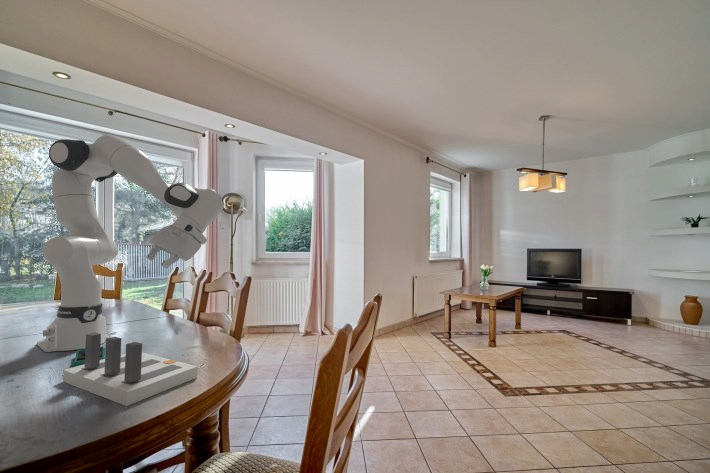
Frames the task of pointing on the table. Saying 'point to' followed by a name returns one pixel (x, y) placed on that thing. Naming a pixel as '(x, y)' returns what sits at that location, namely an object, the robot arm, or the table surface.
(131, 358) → the handle
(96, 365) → the handle
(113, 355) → the post
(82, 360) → the digital multimeter
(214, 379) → the table surface
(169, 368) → the box
